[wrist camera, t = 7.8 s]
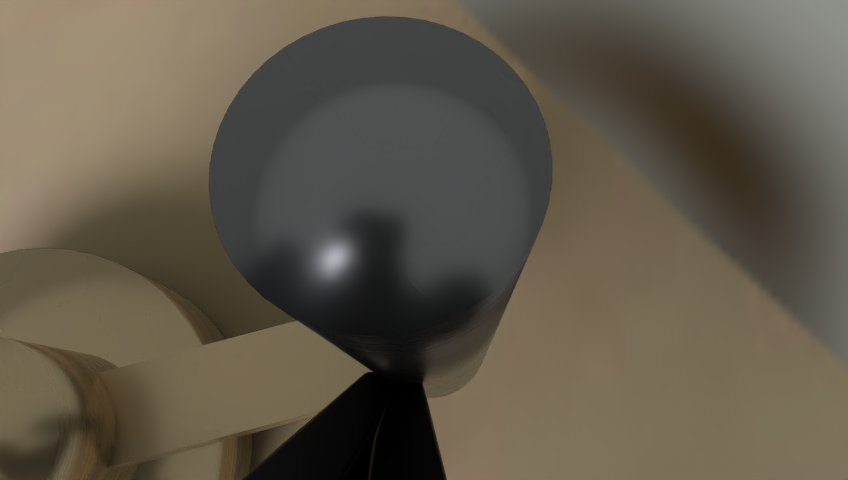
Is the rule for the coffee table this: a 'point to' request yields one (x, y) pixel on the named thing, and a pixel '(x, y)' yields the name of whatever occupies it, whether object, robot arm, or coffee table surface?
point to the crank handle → (291, 263)
